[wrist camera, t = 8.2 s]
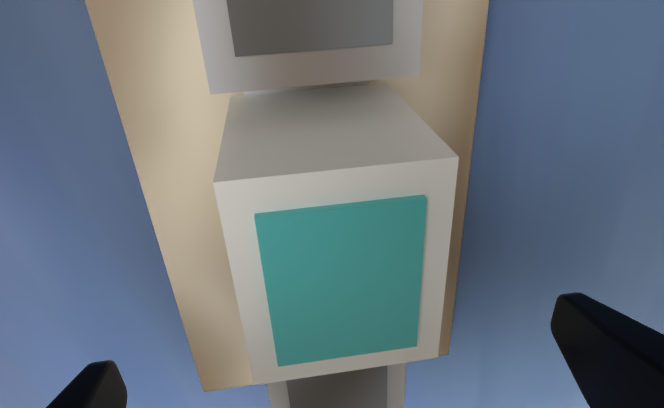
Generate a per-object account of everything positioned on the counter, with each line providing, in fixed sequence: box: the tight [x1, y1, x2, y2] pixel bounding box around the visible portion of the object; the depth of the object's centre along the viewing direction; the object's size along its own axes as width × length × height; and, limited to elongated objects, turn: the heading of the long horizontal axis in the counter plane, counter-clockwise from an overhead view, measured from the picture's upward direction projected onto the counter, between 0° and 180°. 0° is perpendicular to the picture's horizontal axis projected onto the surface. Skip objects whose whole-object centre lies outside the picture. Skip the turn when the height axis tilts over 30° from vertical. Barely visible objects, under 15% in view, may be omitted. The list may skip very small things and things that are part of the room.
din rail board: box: [85, 0, 489, 408], centre depth 15 cm, size 12×22×6 cm, turn 3°
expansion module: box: [213, 83, 459, 385], centre depth 13 cm, size 5×6×6 cm
